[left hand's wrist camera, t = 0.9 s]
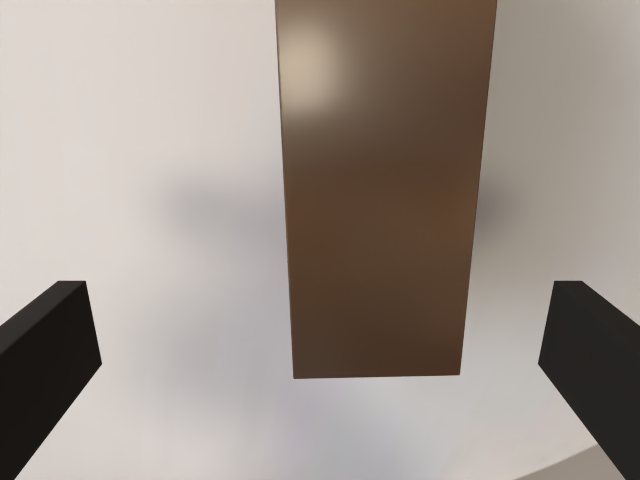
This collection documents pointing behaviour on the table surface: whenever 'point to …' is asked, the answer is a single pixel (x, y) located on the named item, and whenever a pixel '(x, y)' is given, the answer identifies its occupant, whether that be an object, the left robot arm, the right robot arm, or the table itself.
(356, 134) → the box
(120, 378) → the table surface
